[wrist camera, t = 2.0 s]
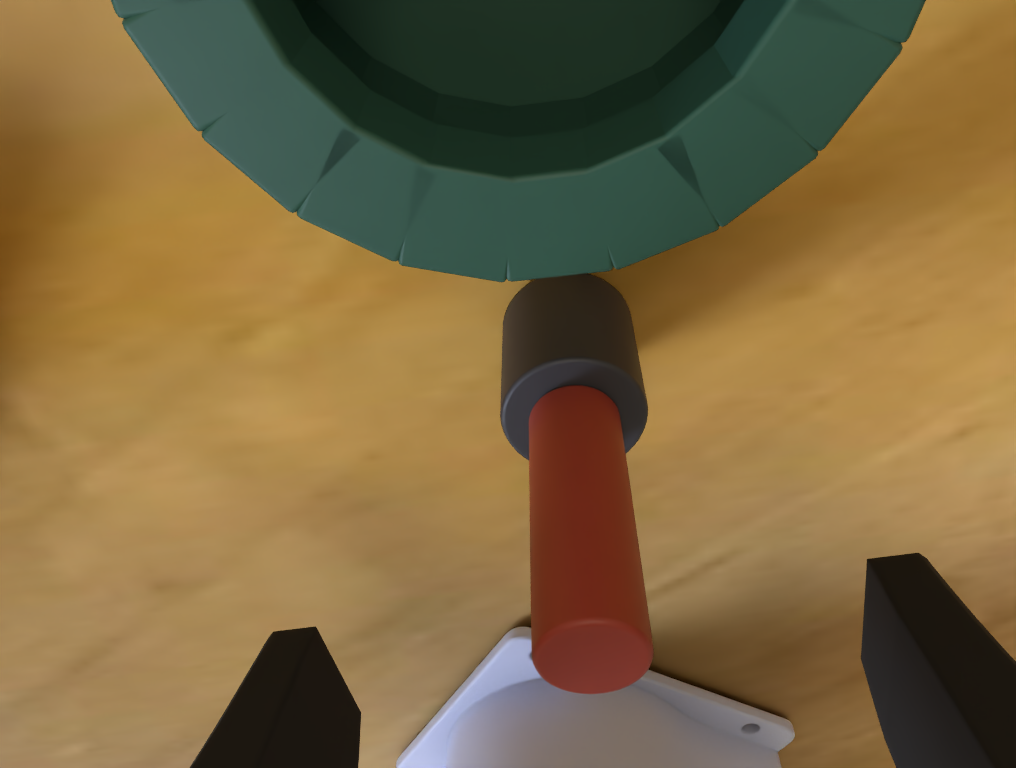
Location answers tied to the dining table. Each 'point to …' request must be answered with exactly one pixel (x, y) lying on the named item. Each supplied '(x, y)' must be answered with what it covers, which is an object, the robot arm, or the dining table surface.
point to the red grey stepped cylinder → (579, 478)
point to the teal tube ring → (518, 114)
